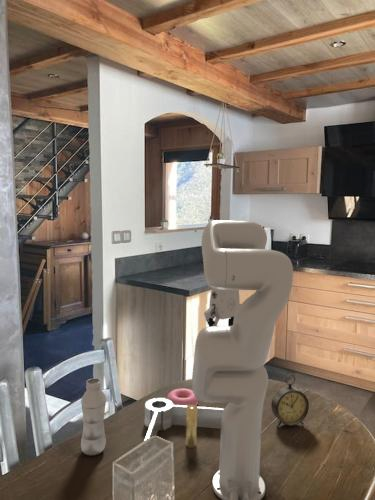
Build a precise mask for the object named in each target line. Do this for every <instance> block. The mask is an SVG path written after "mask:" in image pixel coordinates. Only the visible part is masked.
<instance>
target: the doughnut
mask: <svg viewBox="0 0 375 500" xmlns="http://www.w3.org/2000/svg"><path fill="white" fill-rule="evenodd" d="M165 398H166V399H168V400H170V401H171V402H173V405H184V406H189V405H195V406H198V404H199V400H198V399H197V398H196V397H195V395H194V393H193V389H190V388H183V387H181V388H174V389H172V390H171V391H169V392H168V394H167V396H166V397H165ZM166 399H165V400H166Z"/></svg>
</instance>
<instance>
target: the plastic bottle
mask: <svg viewBox="0 0 375 500" xmlns="http://www.w3.org/2000/svg"><path fill="white" fill-rule="evenodd" d="M101 382H102V381H101V379H100V378H98V377H97V378H96V377H95V378H89V379H87V380H86V382H85V383H86V386H85V389H86V391H85V392H84V393H83V396H82V397H81V399H80V401H81V402H80V404H81V410H82V422H83V427H82V435H81V440H80V447H81V451H82V453H83V454H84V455H86V456H96V455H99V454H101V453H102V452H104V449H105V447H106V444H107V440H106V439H107V437H106V434H105V424H104V419H105V409H106V404H107V398H106V394H105V393H104V391H102V389H101V388H102V384H101Z"/></svg>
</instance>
